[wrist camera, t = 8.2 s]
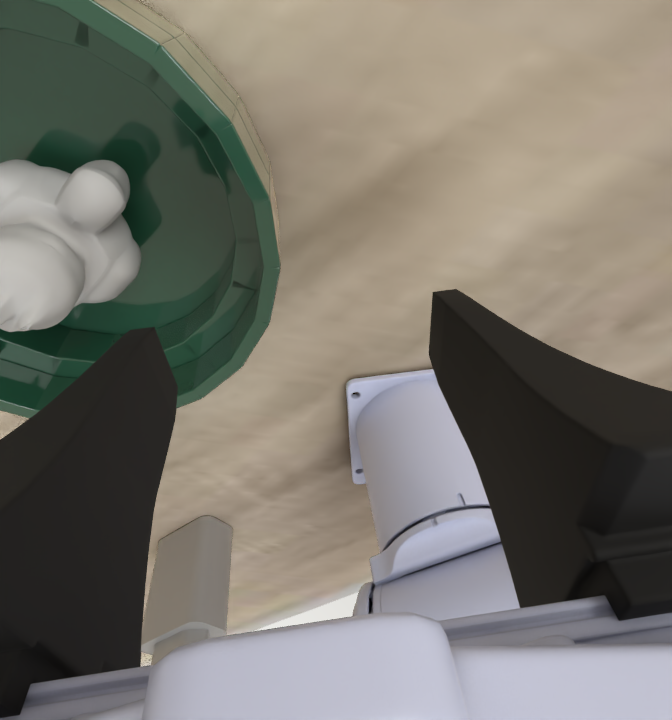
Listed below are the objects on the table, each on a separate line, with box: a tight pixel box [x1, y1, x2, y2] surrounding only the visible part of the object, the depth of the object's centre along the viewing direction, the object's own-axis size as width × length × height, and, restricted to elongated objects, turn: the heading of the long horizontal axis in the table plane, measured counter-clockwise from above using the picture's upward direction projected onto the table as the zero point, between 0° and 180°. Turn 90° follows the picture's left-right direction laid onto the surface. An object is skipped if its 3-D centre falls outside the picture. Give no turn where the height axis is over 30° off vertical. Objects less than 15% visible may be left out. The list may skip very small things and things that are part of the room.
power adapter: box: [141, 516, 233, 665], centre depth 30 cm, size 3×5×12 cm, turn 125°
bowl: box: [0, 0, 281, 418], centre depth 17 cm, size 15×15×5 cm
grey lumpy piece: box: [0, 159, 141, 332], centre depth 15 cm, size 5×7×8 cm
